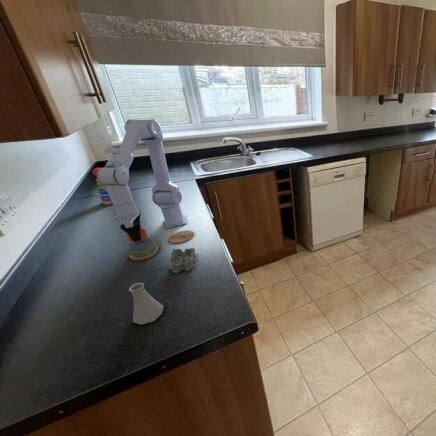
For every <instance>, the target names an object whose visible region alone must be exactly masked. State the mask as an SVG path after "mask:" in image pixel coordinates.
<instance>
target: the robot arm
mask: <svg viewBox="0 0 436 436" xmlns="http://www.w3.org/2000/svg"><path fill="white" fill-rule="evenodd" d="M123 128H124V131H125V134H124V136H123V139H122V142H121V144H120V147H119V148H115V149H113V150H112V152H111V155H110V157H109V158H108V160H107V162H106V164H105V166H104V167H100V168H101V169H100V170H99V171H98V172H97V177H96V178H97V181H98V183H99V184H100V185H102V186H103V187H104V189H105V190H106V191H107V192H108V194H109V196H110V198H111V201H112V203H113V204H112V205H113V207H114V209H115V212H116V214H117V215H115V216H114V220H119V221H120V222H121V223H122V224H120V225H119V227H120V229H121V230H122V231H124V232H125V233H126V234H128V235H129V236H130V237H131V238H132V240H133V241H134V242H136V241H140V240H141V234H140V229H142V226H141V211H139V210H138V208H137V205H136V203H135V200H134V197H133V195H132V192H131V189H130V187H129V184H128V182H129V180H130V175H129V174H130V170H129V169H130V167H131V165H132V163H133V161H134V159H135V158H134V155H133V152H134V151H135V149H136V148H137V146H138V144H139V143H140V142H142V143H144V144H145V145H146V146H147V150H148V153H149V158H150V162H151V167H152V171H153V174H154V175H153V176H154V180H155V184H154V186H153V187H152V188H151V199H152V202H153V204H154V205H156V206H157V207H158V208H160V210H161V214H162V216H163V219H164V225H165V229H171V228H174V227H180V226H183V225H186V224H187V221H186V218H185V215H184V214H183V212H182V208H181V206H180V204H181V202H182V200H183V196H182V193H181V191H180V188H179V185H176V184H174V183H173V182H171V177H170V174H169V169H168V164H167V159H166V154H165V149H164V143H163V141H164V135H163V134H164V133H163V131H162V126H161V124H160V123H159V122H158V121H157V120H156V119H154V118H150V119H127V120H126V121H125V124H124V125H123ZM97 181H96V182H97Z"/></svg>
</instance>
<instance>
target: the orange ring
mask: <svg viewBox="0 0 436 436" xmlns="http://www.w3.org/2000/svg"><path fill="white" fill-rule="evenodd" d="M126 234H127V233H126ZM140 234H141V240H143V239H144V238H146V237H148V234H147V231H146V229H145V228H141V229H140ZM126 237H127V240H128V241H129V243H130V242H134V241H133V240H132V238H131V237H130V236H129V235H128V234H127V235H126ZM136 242H137V241H136Z"/></svg>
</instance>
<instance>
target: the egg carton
mask: <svg viewBox="0 0 436 436" xmlns="http://www.w3.org/2000/svg"><path fill="white" fill-rule="evenodd" d="M170 255H171V256H170V258H169V262H168V269H170V271H171V273H174V274H179V272H181V271H186V272H187V271H190V270H191V269H193V268H194V263H195V258H196V248H195V247H190V248H184V250H182V249H181V248H175V247H173V248H172V250H171V253H170Z"/></svg>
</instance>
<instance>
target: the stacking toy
mask: <svg viewBox="0 0 436 436" xmlns="http://www.w3.org/2000/svg"><path fill="white" fill-rule="evenodd" d="M101 168H102V167H95V168H94V169H93V170H92V174H93V176H94V177H96V178H95V181H96V185H97V189H98V193H99V197H100V200H101V204H102V205H105V206H109V205H113V203H112V201H111V198H110V196H109V194H108V192H107V191H106V190H105V189H104V187H103V186H102V185H100V184H99V183H98V181H97V172H98V171H99V170H100V169H101Z"/></svg>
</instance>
